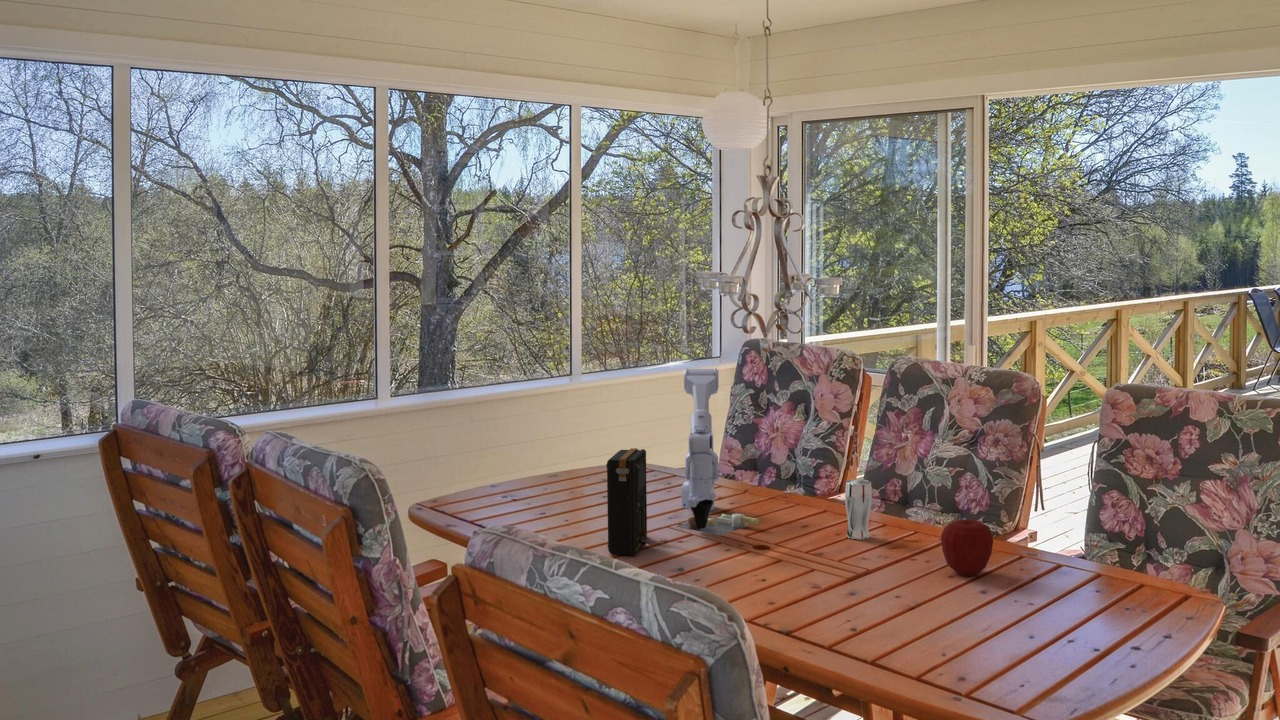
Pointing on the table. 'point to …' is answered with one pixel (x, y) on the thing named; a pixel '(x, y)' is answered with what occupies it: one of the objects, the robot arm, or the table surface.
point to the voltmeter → (627, 501)
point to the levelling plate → (714, 528)
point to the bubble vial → (725, 519)
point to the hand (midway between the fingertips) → (701, 527)
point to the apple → (967, 546)
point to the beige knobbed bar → (693, 524)
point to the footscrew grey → (743, 520)
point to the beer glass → (858, 508)
